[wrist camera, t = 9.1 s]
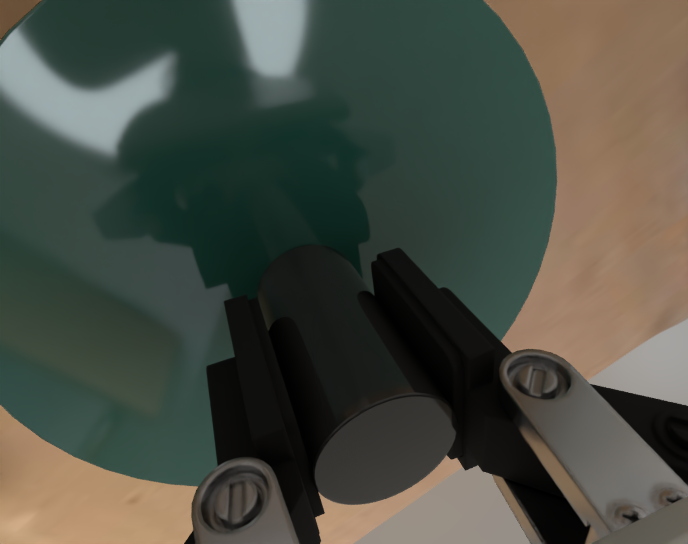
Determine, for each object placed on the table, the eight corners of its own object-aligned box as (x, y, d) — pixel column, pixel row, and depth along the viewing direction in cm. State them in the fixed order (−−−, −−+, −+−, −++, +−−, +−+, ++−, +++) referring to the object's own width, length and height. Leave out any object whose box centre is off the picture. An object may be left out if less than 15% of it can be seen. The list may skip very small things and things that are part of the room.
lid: (-292, -3, 7) (-1634, 5, 2) (566, -122, 10) (993, -244, 5) (125, 520, 16) (107, 777, 11) (513, 369, 19) (646, 511, 14)
